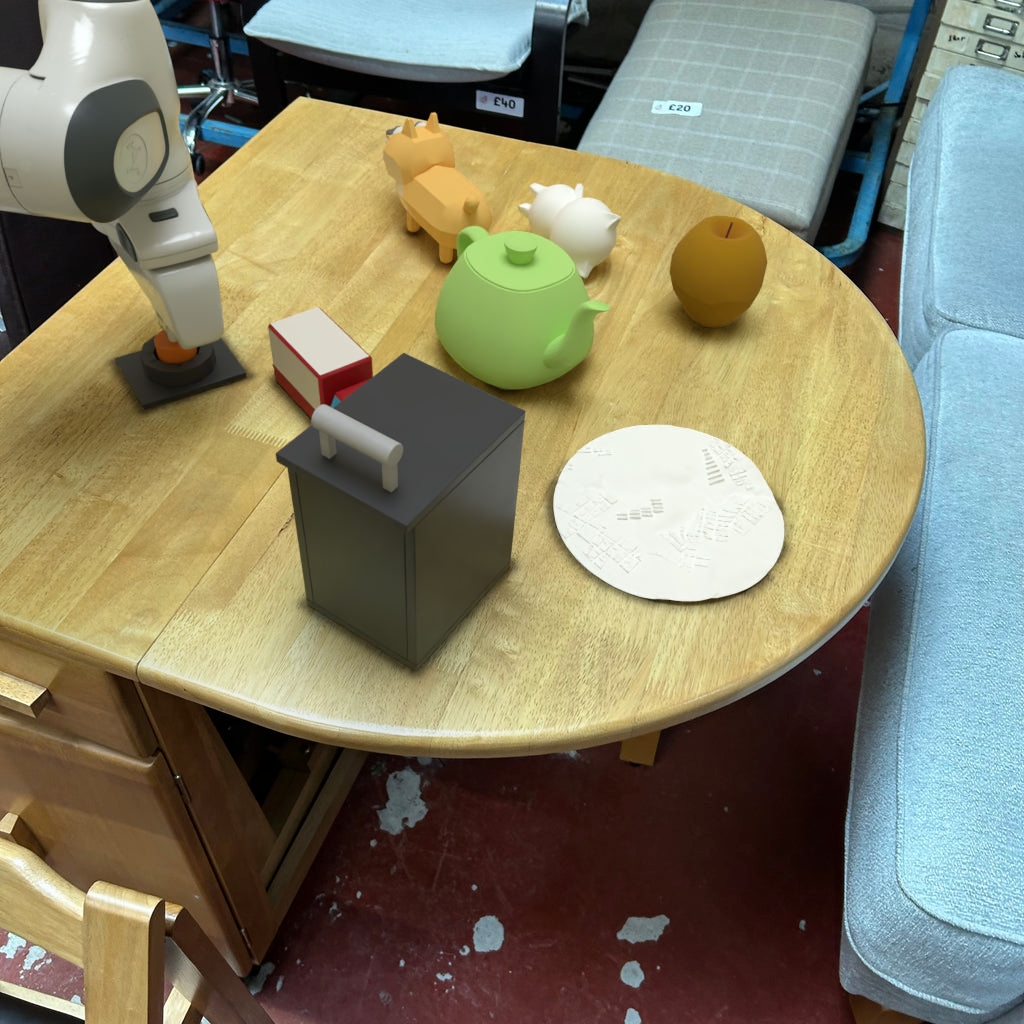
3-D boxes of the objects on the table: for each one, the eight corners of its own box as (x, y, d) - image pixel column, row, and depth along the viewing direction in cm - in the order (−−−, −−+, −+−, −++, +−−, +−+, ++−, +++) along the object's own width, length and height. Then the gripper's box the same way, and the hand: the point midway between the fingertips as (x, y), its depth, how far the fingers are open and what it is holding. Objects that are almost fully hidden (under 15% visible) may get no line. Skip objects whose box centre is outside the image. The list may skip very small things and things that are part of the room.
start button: (165, 369, 89) (161, 353, 87) (152, 348, 91) (148, 333, 89) (202, 357, 90) (199, 342, 89) (188, 337, 92) (185, 322, 91)
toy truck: (356, 470, 84) (352, 412, 79) (274, 380, 92) (266, 323, 87) (408, 446, 87) (407, 389, 82) (324, 361, 94) (319, 304, 90)
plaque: (658, 404, 92) (660, 393, 91) (828, 525, 83) (833, 513, 82) (505, 506, 83) (505, 494, 82) (678, 654, 74) (681, 643, 73)
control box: (144, 410, 88) (138, 389, 86) (115, 363, 92) (109, 342, 90) (247, 377, 92) (243, 356, 90) (215, 333, 96) (211, 313, 94)
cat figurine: (537, 156, 107) (603, 201, 100) (594, 187, 115) (659, 230, 108) (499, 227, 110) (561, 275, 103) (558, 252, 118) (618, 298, 111)
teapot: (646, 394, 94) (671, 279, 85) (526, 450, 87) (538, 333, 78) (512, 286, 106) (520, 175, 96) (397, 329, 99) (394, 213, 89)
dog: (421, 189, 119) (421, 84, 110) (508, 268, 108) (515, 159, 99) (364, 203, 116) (359, 96, 106) (448, 286, 105) (450, 175, 95)
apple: (643, 315, 103) (662, 217, 95) (695, 283, 109) (718, 187, 100) (716, 357, 99) (743, 257, 91) (767, 321, 104) (797, 224, 96)
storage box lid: (406, 534, 58) (405, 481, 55) (276, 462, 62) (267, 407, 58) (525, 419, 66) (530, 366, 63) (403, 360, 70) (402, 308, 66)
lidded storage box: (416, 672, 70) (414, 527, 59) (306, 604, 74) (284, 455, 62) (510, 566, 78) (525, 419, 66) (406, 510, 81) (403, 361, 70)
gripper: (65, 149, 83) (104, 285, 93) (145, 264, 72) (179, 404, 82) (137, 135, 86) (167, 269, 96) (225, 243, 75) (249, 382, 85)
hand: (173, 332), depth 89 cm, fingers closed
